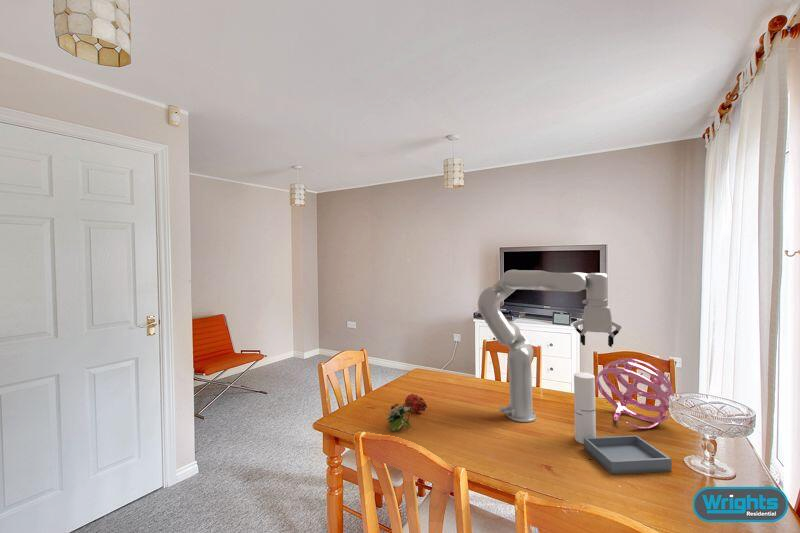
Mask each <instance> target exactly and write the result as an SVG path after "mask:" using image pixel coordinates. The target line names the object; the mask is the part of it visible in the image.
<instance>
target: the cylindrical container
mask: <svg viewBox="0 0 800 533" xmlns="http://www.w3.org/2000/svg"><path fill="white" fill-rule="evenodd" d="M573 395H574V396H573V398H574V399H573V400H574V439H575V441H576V442H577V443H580V444H582V445H584V438H591V437H597V431H596V430H597V428H596V427H597V426H596V423H597V422H596V421H597V420H596V416H597V415H596V414H597V413H596V376H595V375H594V374H592V373H589V372H581V371H579V372H574V373H573Z"/></svg>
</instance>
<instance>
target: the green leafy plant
mask: <svg viewBox="0 0 800 533" xmlns="http://www.w3.org/2000/svg"><path fill="white" fill-rule="evenodd" d="M390 410H391V411H390V413H389V414H387V415H388V417H387V418H385V420H387V423H388V424H390V425H389V432H390V433H392V432H395V431H399V430H400V429H401V428H402V427H403V426H404V424H405V425H406V427H407V429H409V427H411V426H412V425H411V424H410V423H409V421H410V415H411V413H412V411H411V410H412V408H411V407H409V408H408V407H406V406H405V405H404V404H402V405H400V404H399V403H395V404H393V405H390ZM409 411H410V412H409ZM406 413H409V414H408V417H407V419H405V418H404V417H405V415H406Z"/></svg>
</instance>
